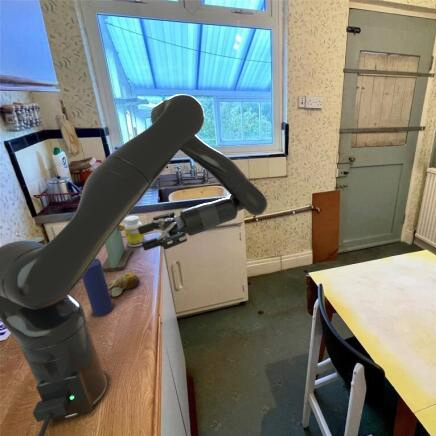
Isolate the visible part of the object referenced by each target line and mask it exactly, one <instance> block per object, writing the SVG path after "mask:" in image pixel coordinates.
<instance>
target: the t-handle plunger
mask: <svg viewBox="0 0 436 436" xmlns="http://www.w3.org/2000/svg"><path fill="white" fill-rule="evenodd" d="M102 266H103V264H102V261H101V260H100V259H99V258H95V259H94V261H93V263H92V264H91V266H90V267H89V269H88V270H87V272H86V273H85V275H84V276H83V278H82V281H83V285H84V288H85V292H86V295H87V298H88V302H89V304H90V308H91V311H92V314H93V315H94V316H97V317H101V316H105V315H107V314H109V313H111V312H112V310H114V305H113V302H112V299H111V293H110V291H109V289H108V283H107V280H106V276H105V272H103V269H102Z"/></svg>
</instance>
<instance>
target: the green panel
mask: <svg viewBox="0 0 436 436" xmlns="http://www.w3.org/2000/svg"><path fill="white" fill-rule="evenodd" d="M124 225H125V224H121V223H120V225H119V226H118V227H117V228H116V230H115V231H114V232H113V233H112V235H111V236H110V237H109V239H108V240H107V241H106V243H105V244H104V246H105V250H106V254H107V258H106V259H105V261H104V263H103V264H102V269H103V272H104V273H105V272H114V271H121V270H124V269H125V266H126V265H127V263H128V260H129V258H130V256H131V254H132V249H126V248H125V244H124V243H125V242H124V239H123V235H122V231H125V226H124Z"/></svg>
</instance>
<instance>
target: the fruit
mask: <svg viewBox="0 0 436 436" xmlns="http://www.w3.org/2000/svg"><path fill="white" fill-rule="evenodd" d="M139 284H140V279H139V276H138V275H137V274H136V273H133V272H124V273H123V274H121V276H120V277H118V279H113V280H111V281H110V282H109V283H108V284H107V287H108V290H110V289H112V290H111V293H110V297H118V296H120V295H121V294H122V293H123V290H125V289H130V290H131V289H135V288H136V287H137V286H138V285H139ZM114 286H116V287H114ZM112 287H113V288H112Z"/></svg>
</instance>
